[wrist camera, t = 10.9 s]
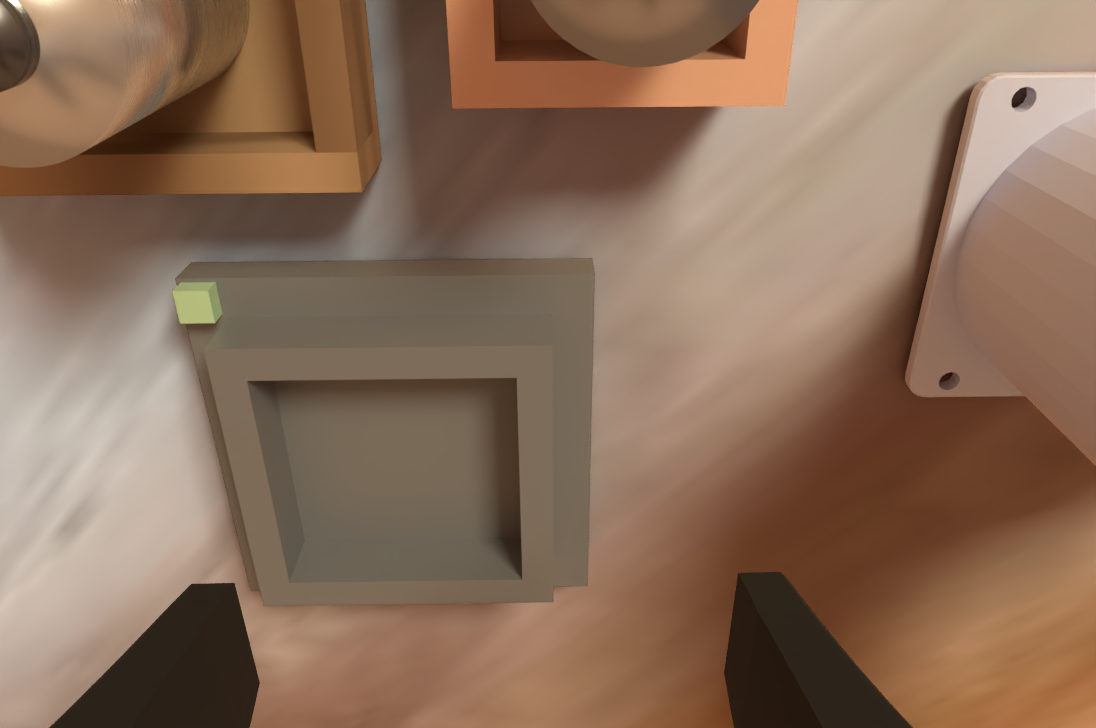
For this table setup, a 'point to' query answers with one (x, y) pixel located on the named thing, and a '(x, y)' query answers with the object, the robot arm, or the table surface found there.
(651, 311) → the table surface
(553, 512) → the cradle
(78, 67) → the cell
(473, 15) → the orange square box
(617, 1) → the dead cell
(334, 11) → the brown square tray
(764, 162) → the table surface
